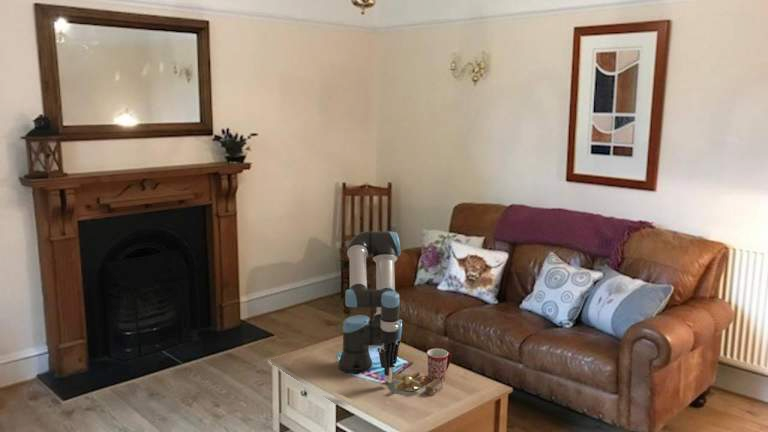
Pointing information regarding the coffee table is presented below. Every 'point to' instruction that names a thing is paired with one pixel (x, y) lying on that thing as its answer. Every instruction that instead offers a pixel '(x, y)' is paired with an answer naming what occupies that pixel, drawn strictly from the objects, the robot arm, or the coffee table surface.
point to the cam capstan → (408, 382)
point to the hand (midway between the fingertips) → (388, 381)
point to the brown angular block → (433, 387)
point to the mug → (438, 364)
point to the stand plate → (401, 392)
